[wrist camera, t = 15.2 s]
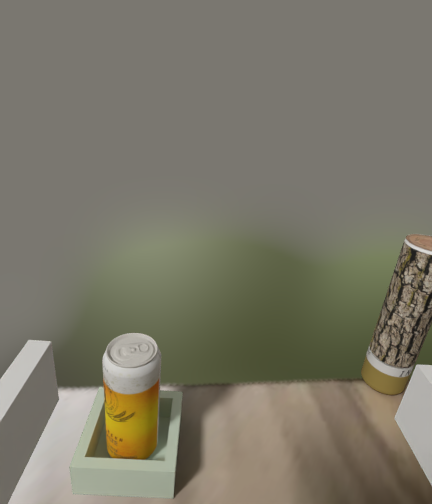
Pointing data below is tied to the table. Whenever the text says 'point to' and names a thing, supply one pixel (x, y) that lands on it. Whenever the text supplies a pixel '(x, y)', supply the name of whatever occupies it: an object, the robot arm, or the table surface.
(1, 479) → the robot arm
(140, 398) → the beer can
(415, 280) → the paper tube
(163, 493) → the socket
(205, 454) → the table surface
